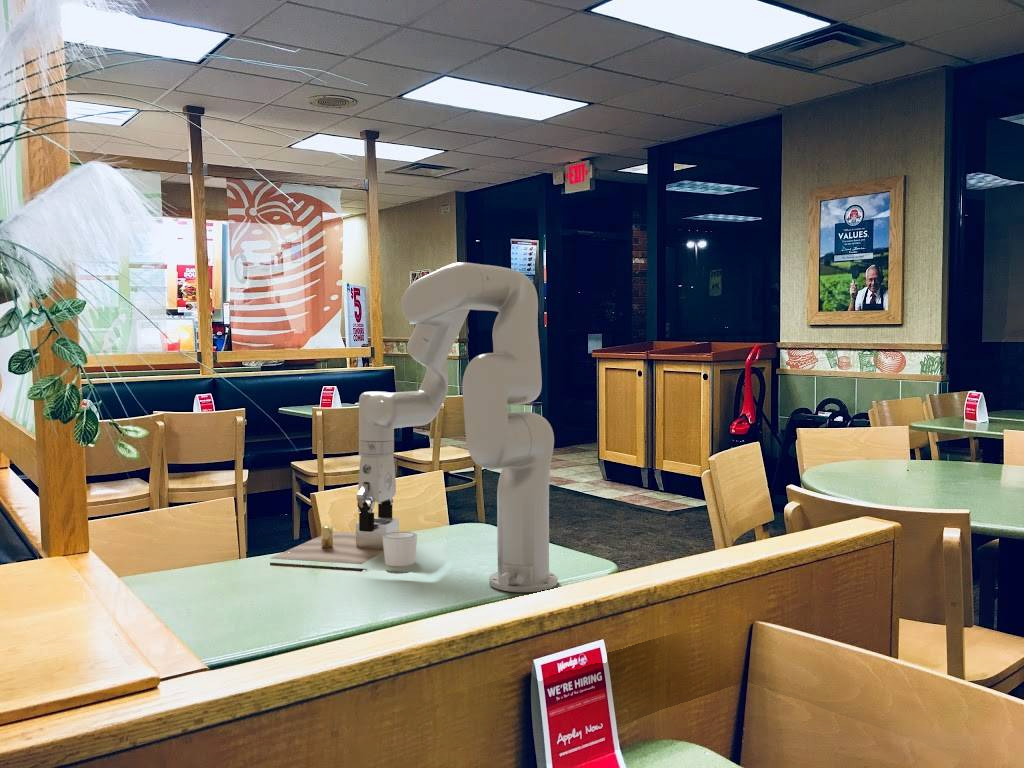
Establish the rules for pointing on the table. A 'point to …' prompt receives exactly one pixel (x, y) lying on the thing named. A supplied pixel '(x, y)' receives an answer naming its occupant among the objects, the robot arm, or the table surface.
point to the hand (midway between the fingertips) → (376, 526)
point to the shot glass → (399, 549)
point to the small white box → (376, 532)
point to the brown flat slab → (330, 553)
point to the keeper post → (326, 537)
